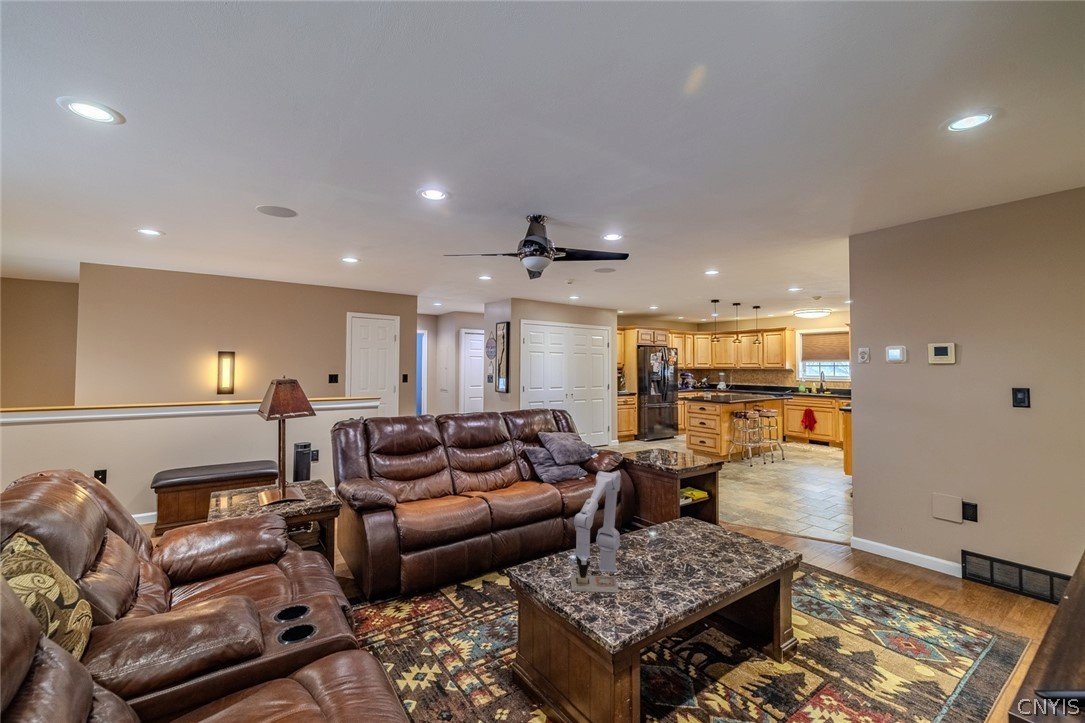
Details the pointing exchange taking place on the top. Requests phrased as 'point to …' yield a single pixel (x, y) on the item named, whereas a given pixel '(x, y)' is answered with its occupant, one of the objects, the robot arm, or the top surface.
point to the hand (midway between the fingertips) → (582, 574)
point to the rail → (595, 584)
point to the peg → (582, 580)
